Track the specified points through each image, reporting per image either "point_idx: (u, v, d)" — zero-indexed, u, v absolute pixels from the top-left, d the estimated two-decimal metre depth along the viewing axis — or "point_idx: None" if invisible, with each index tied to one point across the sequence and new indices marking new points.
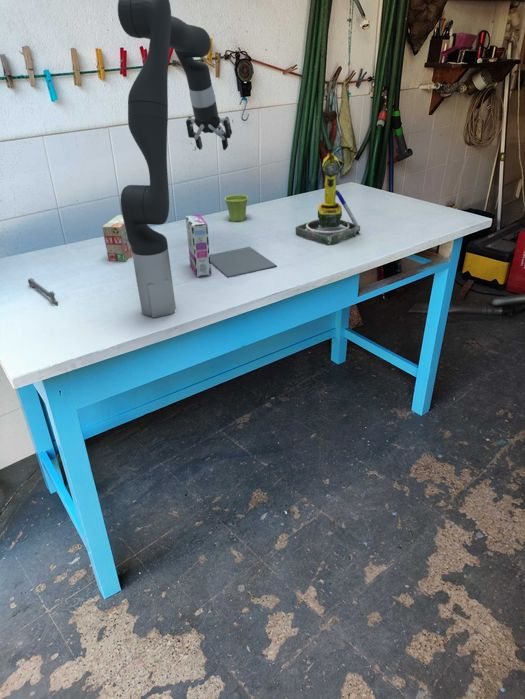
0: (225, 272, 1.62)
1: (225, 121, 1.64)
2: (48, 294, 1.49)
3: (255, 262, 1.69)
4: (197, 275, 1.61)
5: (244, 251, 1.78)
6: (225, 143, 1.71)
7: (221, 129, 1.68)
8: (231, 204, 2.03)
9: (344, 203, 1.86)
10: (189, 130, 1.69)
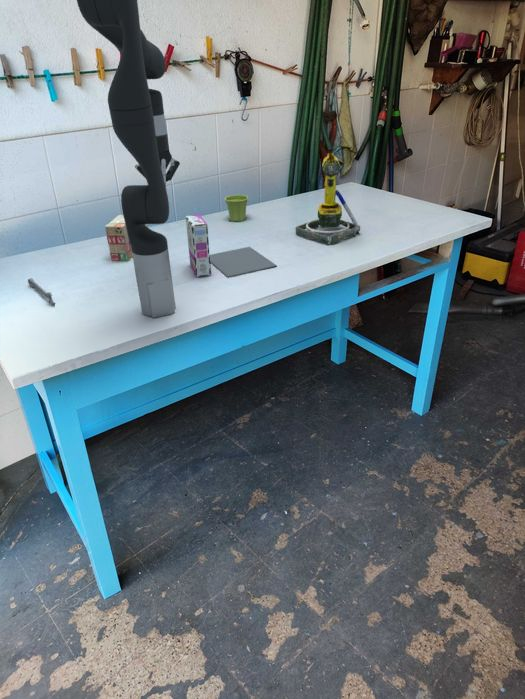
0: (225, 272, 1.62)
1: (178, 162, 1.48)
2: (46, 295, 1.49)
3: (255, 262, 1.69)
4: (197, 275, 1.61)
5: (244, 251, 1.78)
6: None
7: None
8: (231, 204, 2.03)
9: (344, 203, 1.86)
10: None
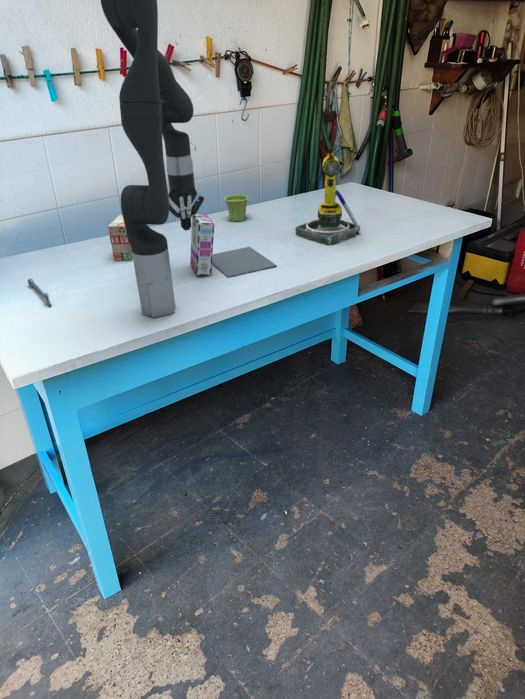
0: (225, 272, 1.62)
1: (203, 198, 1.57)
2: (43, 295, 1.49)
3: (255, 262, 1.69)
4: (197, 273, 1.60)
5: (244, 251, 1.78)
6: (189, 222, 1.58)
7: None
8: (231, 204, 2.03)
9: (344, 203, 1.86)
10: (173, 210, 1.54)
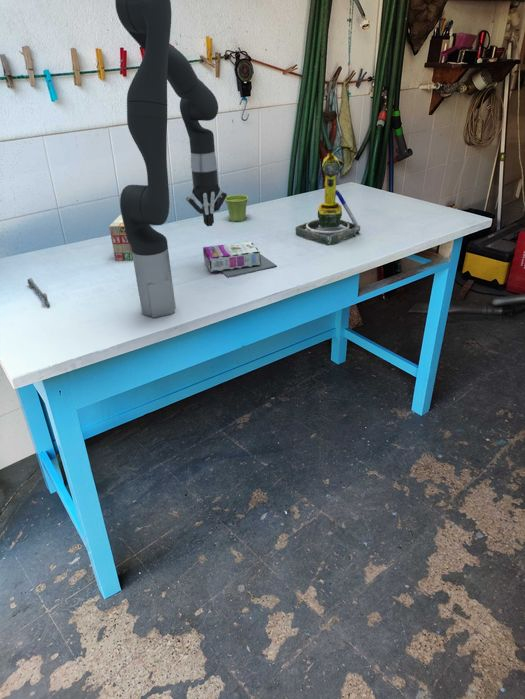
0: (225, 272, 1.62)
1: (226, 194, 1.59)
2: (42, 296, 1.49)
3: None
4: (211, 259, 1.60)
5: None
6: (212, 218, 1.61)
7: None
8: (231, 204, 2.03)
9: (344, 203, 1.86)
10: (197, 207, 1.57)
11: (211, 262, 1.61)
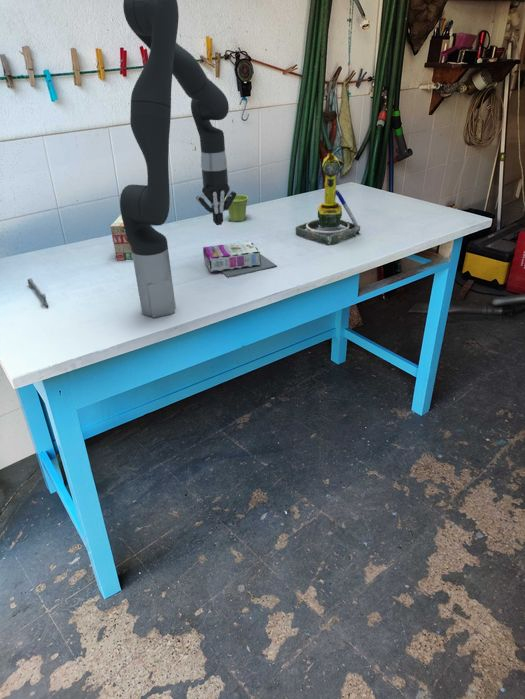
0: (225, 272, 1.62)
1: (235, 193, 1.60)
2: (41, 296, 1.48)
3: None
4: (211, 259, 1.60)
5: None
6: (221, 217, 1.62)
7: None
8: (231, 204, 2.03)
9: (344, 203, 1.86)
10: (207, 205, 1.58)
11: (211, 262, 1.61)
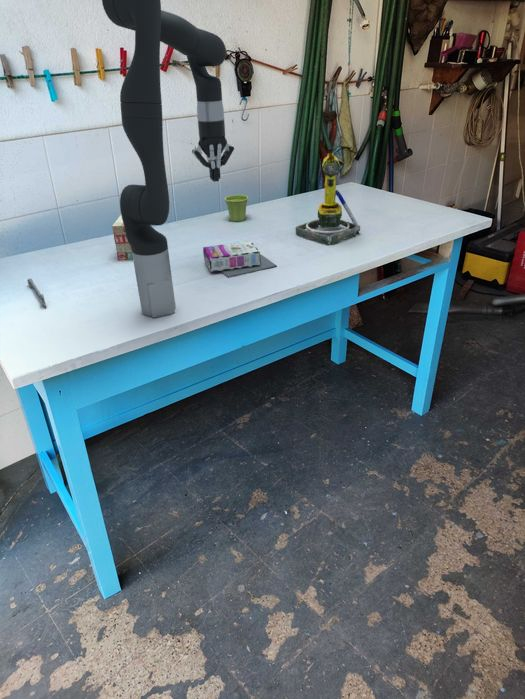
0: (225, 272, 1.62)
1: (233, 148, 1.54)
2: (39, 296, 1.48)
3: None
4: (211, 259, 1.60)
5: None
6: (219, 172, 1.55)
7: None
8: (231, 204, 2.03)
9: (344, 203, 1.86)
10: (203, 159, 1.51)
11: (211, 262, 1.61)
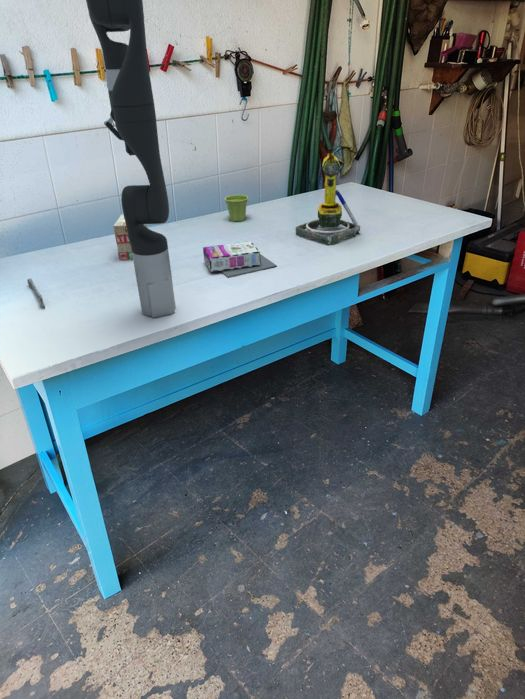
0: (225, 272, 1.62)
1: None
2: (38, 297, 1.48)
3: None
4: (211, 259, 1.60)
5: None
6: None
7: None
8: (231, 204, 2.03)
9: (344, 203, 1.86)
10: (116, 131, 1.45)
11: (211, 262, 1.61)
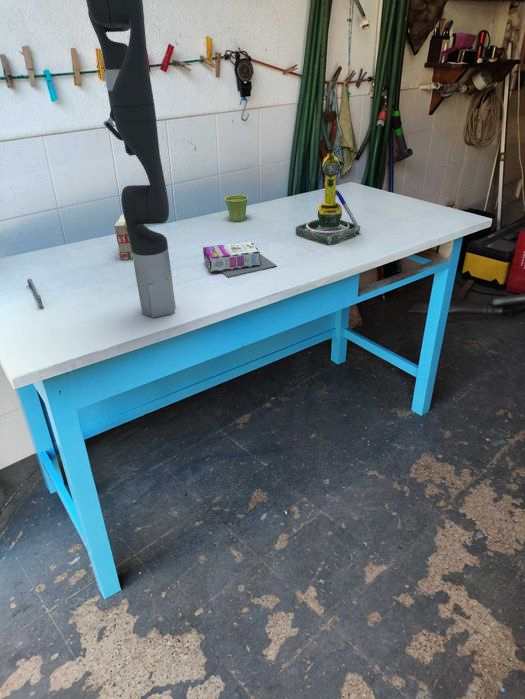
0: (225, 272, 1.62)
1: None
2: (37, 297, 1.48)
3: None
4: (211, 259, 1.60)
5: None
6: None
7: None
8: (231, 204, 2.03)
9: (344, 203, 1.86)
10: (115, 132, 1.44)
11: (211, 262, 1.61)
